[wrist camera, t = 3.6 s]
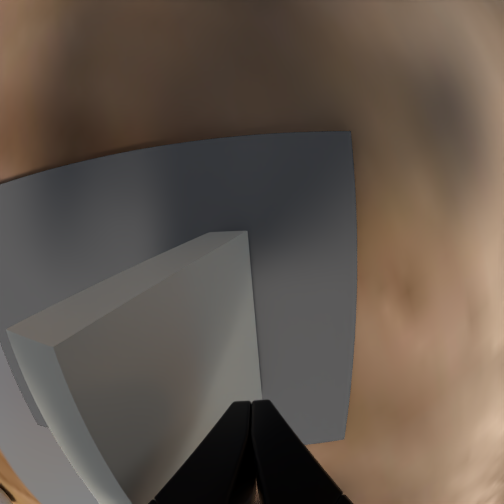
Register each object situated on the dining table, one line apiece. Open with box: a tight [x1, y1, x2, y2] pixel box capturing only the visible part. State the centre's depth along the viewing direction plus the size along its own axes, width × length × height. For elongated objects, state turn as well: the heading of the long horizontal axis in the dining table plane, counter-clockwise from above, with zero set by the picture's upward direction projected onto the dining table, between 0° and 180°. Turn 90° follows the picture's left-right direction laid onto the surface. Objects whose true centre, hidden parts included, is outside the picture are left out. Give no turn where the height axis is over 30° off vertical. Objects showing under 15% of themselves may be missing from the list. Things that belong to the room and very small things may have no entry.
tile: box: [6, 231, 262, 504], centre depth 8 cm, size 2×7×8 cm, turn 5°
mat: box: [0, 131, 357, 445], centre depth 12 cm, size 18×14×1 cm
